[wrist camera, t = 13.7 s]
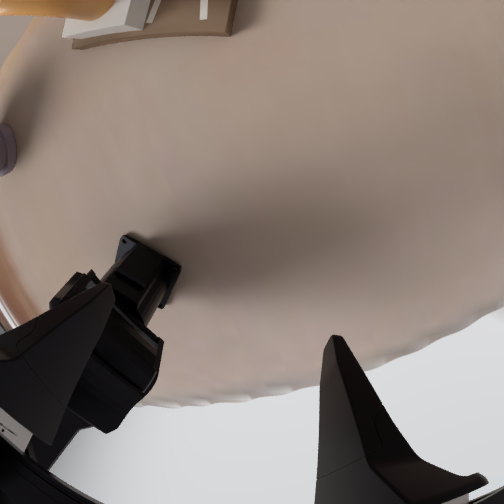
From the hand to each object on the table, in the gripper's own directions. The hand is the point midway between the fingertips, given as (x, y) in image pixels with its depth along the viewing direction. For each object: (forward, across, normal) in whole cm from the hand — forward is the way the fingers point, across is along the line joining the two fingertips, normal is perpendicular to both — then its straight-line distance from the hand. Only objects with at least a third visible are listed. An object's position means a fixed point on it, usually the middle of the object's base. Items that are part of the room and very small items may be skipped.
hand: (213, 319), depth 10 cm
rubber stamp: (+10, +12, -15) cm, 22 cm away
